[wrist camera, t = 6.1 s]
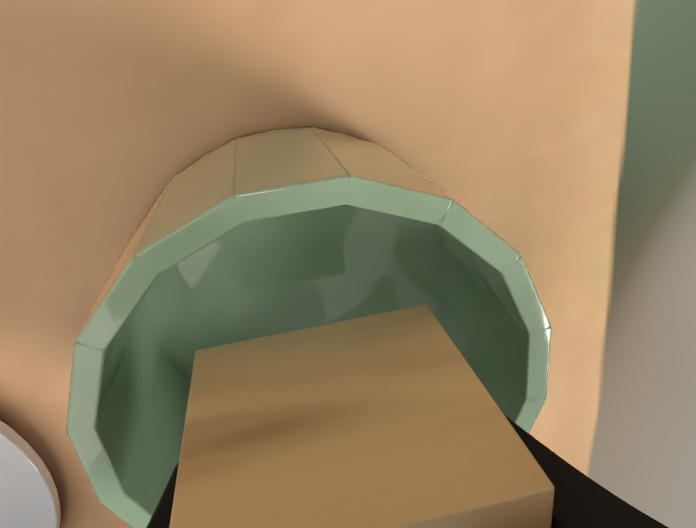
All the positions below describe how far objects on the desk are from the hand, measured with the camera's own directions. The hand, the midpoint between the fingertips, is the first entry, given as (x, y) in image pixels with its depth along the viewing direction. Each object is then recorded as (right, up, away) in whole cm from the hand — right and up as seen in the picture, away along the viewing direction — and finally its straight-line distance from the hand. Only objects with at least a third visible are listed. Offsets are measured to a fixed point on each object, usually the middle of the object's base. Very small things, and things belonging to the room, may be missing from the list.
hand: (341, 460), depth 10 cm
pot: (-1, +3, +7) cm, 8 cm away
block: (0, +1, +1) cm, 1 cm away
